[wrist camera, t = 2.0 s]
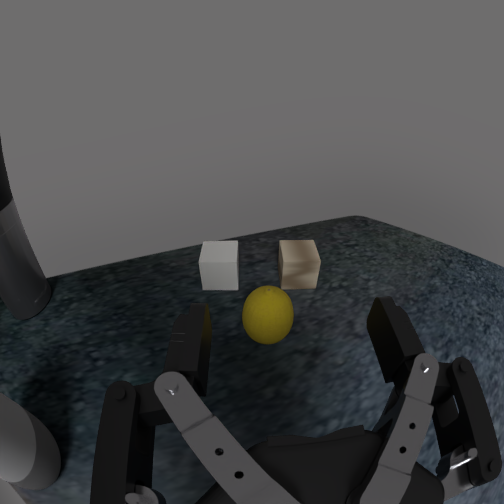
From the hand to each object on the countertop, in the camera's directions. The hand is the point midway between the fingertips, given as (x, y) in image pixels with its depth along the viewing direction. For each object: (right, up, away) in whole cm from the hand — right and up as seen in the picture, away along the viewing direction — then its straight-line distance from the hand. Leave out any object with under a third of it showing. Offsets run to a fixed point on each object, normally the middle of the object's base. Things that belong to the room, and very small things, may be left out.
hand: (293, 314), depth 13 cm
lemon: (0, -7, +19) cm, 21 cm away
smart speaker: (-25, -19, +3) cm, 32 cm away
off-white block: (-6, -1, +28) cm, 29 cm away
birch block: (+5, -1, +28) cm, 29 cm away
